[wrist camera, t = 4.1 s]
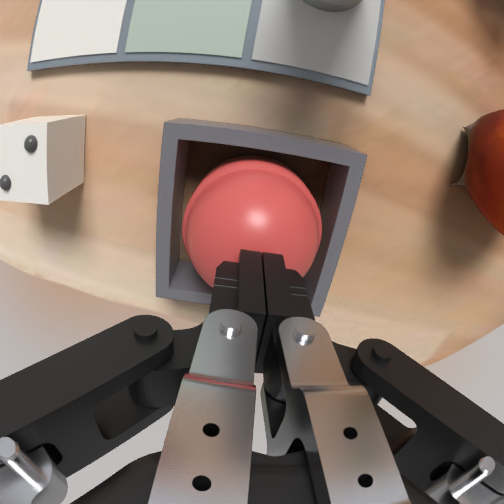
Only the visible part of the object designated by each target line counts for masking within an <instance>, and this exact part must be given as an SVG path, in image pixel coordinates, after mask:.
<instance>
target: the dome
mask: <svg viewBox="0 0 504 504" xmlns="http://www.w3.org/2000/svg"><path fill="white" fill-rule="evenodd" d="M182 234H183V241H184V245H185V248H186V251H187V253H188V255H189V257H190V259H191V261H192V264H193V266H194V268H195V269H196V271H197V272H198V274H199V275H200V276H201V277H202V278H203V280H204V281H205V282H206V283H207V284H208V285H210V286H211V287H212V288H213V286H214V280H215V274H216V268H217V267H218V266H219V265H220V264H221V263H222V262H223V261H230V262H238V260H239V253H240V249H245V250H252V251H260V252H261V253H262V252H268V253H275V254H282V255H283V257H284V262H285V267H286V269H293V270H296V271H297V272H298V273H299V274H300V275H301V276H302V277H304V276H305V274H306V273H307V272H308V270H309V269H310V267H311V265H312V263H313V261H314V258H315V255H316V253H317V251H318V248H319V245H320V241H321V236H322V222H321V216H320V211H319V208H318V206H317V203H316V201H315V200H314V198H313V196H312V194H311V193H310V191H309V190H308V188H307V187H306V185H305V184H304V182H303V181H302V180H301V178H300V177H299V176H298V175H297V174H296V173H295V172H294V171H293V170H292V169H291V168H289V167H288V166H287V165H285V164H283V163H281V162H279V161H277V160H275V159H272V158H268V157H264V156H256V155H247V156H240V157H235V158H232V159H229V160H226V161H224V162H222V163H220V164H219V165H217V166H216V167H214V168H213V169H212V170H210V171H209V172H208V173H207V174H206V175H205V176H204V177H203V179H202V180H201V181H200V183H199V184H198V186H197V188H196V190H195V191H194V193H193V195H192V197H191V199H190V200H189V203H188V205H187V207H186V210H185V213H184V217H183V224H182Z"/></svg>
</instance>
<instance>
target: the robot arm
mask: <svg viewBox="0 0 504 504" xmlns="http://www.w3.org/2000/svg"><path fill="white" fill-rule="evenodd" d="M254 373H263V377H264V382H263V385H262V388H261V401H262V408H263V416H264V423H265V431H266V438H267V455H265V454H261V453H257V452H253V451H252V440H253V427H254V413H255V400H256V386H255V385H253V382H254ZM382 397H383V398H384V399H386V400H387V401H388V402H389V403H391V404H392V405H393V406H395V407H396V408H397V409H398V410H400V411H401V412H402V413H404V414H405V415H406V416H408V417H409V418H411V419H412V420H413V421H414V422H415V424H416V426H417V427H416V428H408V427H406V426H404V425H403V424H402V423H400V422H399V421H397V420H396V419H395V418H394V417H392V416H391V415H390V414H388V413H387V412H386V411H385V410H383V409H382V408H381V407H379V406H378V405H377V404H378V403H379V401H380V400H381V399H382ZM173 406H175V407H174V410H173V413H172V417H171V420H170V424H169V428H168V431H167V435H166V438H165V442H164V446H163V449H162V451H160V452H156V453H152V454H149V455H146V456H144V457H141V458H138V459H137V460H135V461H133V462H131V463H129V464H128V465H126V466H125V467H123V468H122V469H121V470H119V471H118V472H116V473H115V474H113V475H112V476H111V477H109V478H108V479H106V480H105V481H103V482H102V483H101V484H99V485H98V486H96V487H95V488H93V489H92V490H90V491H89V492H87V493H86V494H84V495H83V496H81V497H80V498H78V499H76V500H75V501H73V502H72V503H70V504H504V424H503V423H502V422H500V421H499V420H498V419H496V418H495V417H493V416H492V415H490V414H489V413H488V412H486V411H485V410H483V409H482V408H481V407H479V406H478V405H476V404H475V403H474V402H472V401H471V400H469V399H468V398H467V397H465V396H464V395H462V394H461V393H460V392H458V391H457V390H455V389H454V388H453V387H451V386H450V385H448V384H447V383H445V382H444V381H443V380H441V379H440V378H438V377H437V376H436V375H434V374H433V373H431V372H430V371H429V370H427V369H426V368H424V367H423V366H421V365H420V364H419V363H417V362H416V361H414V360H413V359H412V358H410V357H409V356H407V355H406V354H405V353H403V352H402V351H400V350H399V349H397V348H396V347H395V346H393V345H392V344H390V343H388V342H386V341H384V340H380V339H366V340H364V341H362V342H361V343H360V344H359V346H358V348H357V349H354V348H351V347H347V346H344V345H340V344H337V343H335V342H333V341H331V339H330V336H329V334H328V332H327V330H326V329H325V328H324V327H323V326H322V325H321V324H320V323H318V322H316V321H315V318H314V315H313V311H312V307H311V304H310V300H309V297H308V293H307V289H306V286H305V282H304V278H303V277H302V276H301V275H300V274H299V273H298V272H297V271H296V270H293V269H286V267H285V262H284V257H283V255H282V254H275V253H268V252H262V253H261V252H260V251H252V250H245V249H240V253H239V260H238V262H230V261H223V262H222V263H221V264H220V265H219V266H218V267H217V268H216V274H215V280H214V286H213V292H212V298H211V304H210V310H209V315H208V316H207V317H206V318H205V320H204V322H203V323H202V324H200V325H198V326H196V327H194V328H190V329H184V330H173V329H172V327H171V325H170V324H169V323H168V322H167V321H165V320H164V319H162V318H160V317H157V316H152V315H138V316H134V317H131V318H129V319H127V320H125V321H123V322H121V323H119V324H117V325H115V326H113V327H110V328H108V329H106V330H104V331H102V332H100V333H98V334H96V335H94V336H92V337H90V338H88V339H86V340H84V341H81V342H79V343H77V344H75V345H73V346H71V347H69V348H67V349H65V350H63V351H61V352H59V353H57V354H54V355H52V356H50V357H48V358H46V359H44V360H42V361H40V362H37V363H35V364H33V365H31V366H29V367H27V368H25V369H23V370H21V371H19V372H16V373H15V374H12V375H10V376H8V377H6V378H4V379H2V380H0V504H60V503H61V502H62V501H63V500H64V498H65V496H66V494H67V488H68V486H67V480H66V478H67V477H68V476H70V475H72V474H74V473H75V472H77V471H79V470H81V469H82V468H84V467H86V466H87V465H89V464H91V463H92V462H94V461H95V460H97V459H99V458H100V457H102V456H103V455H105V454H107V453H108V452H110V451H111V450H113V449H114V448H116V447H118V446H119V445H121V444H122V443H124V442H125V441H127V440H129V439H130V438H131V437H133V436H135V435H136V434H137V433H139V432H140V431H142V430H143V429H145V428H147V427H148V426H149V425H151V424H152V423H154V422H155V421H157V420H158V419H160V418H161V417H163V416H164V415H165V414H167V413H168V412H169V411H170V410H171V409H172V408H173Z"/></svg>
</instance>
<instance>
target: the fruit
mask: <svg viewBox="0 0 504 504" xmlns="http://www.w3.org/2000/svg"><path fill="white" fill-rule="evenodd" d="M463 128H464V129H465V131H466V133H467V136H468V159H467V163H466V167H465V171H464V173H463V175H462V176H461V178H460V179H459V181H458V182H456V183H452V184H450V185H465V186H466V187H467V191H468V193H469V195H470V197H471V199H472V200H473V201H474V202H475V204H476V206H477V208H478V209H479V211H480V212H481V213H482V214H483V215H484V216H485V217H486V218H487V220H488V221H489V222H490V223H491V224H492V225H493V226H494V227H495V229H497V230H498V231H499V232H500V233H501V234H503V235H504V110H499V111H496V112H493V113H490V114H487V115H484V116H482V117H480V118H479V119H478V120H477V121H475V122H474V123H473V124H472V125H469V126H467V127H463Z"/></svg>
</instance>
